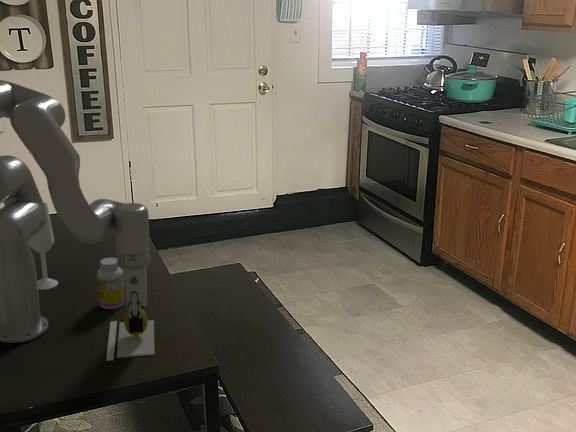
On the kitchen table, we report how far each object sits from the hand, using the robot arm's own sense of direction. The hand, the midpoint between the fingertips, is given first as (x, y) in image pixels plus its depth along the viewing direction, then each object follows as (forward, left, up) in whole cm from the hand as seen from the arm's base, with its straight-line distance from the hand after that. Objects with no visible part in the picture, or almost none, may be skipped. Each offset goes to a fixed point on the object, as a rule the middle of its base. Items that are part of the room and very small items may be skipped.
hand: (136, 322), depth 150 cm
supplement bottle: (-7, +19, -5) cm, 21 cm away
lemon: (0, 0, -4) cm, 4 cm away
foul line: (-6, 0, -4) cm, 7 cm away
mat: (0, 0, -4) cm, 4 cm away
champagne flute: (-26, +34, -5) cm, 43 cm away
